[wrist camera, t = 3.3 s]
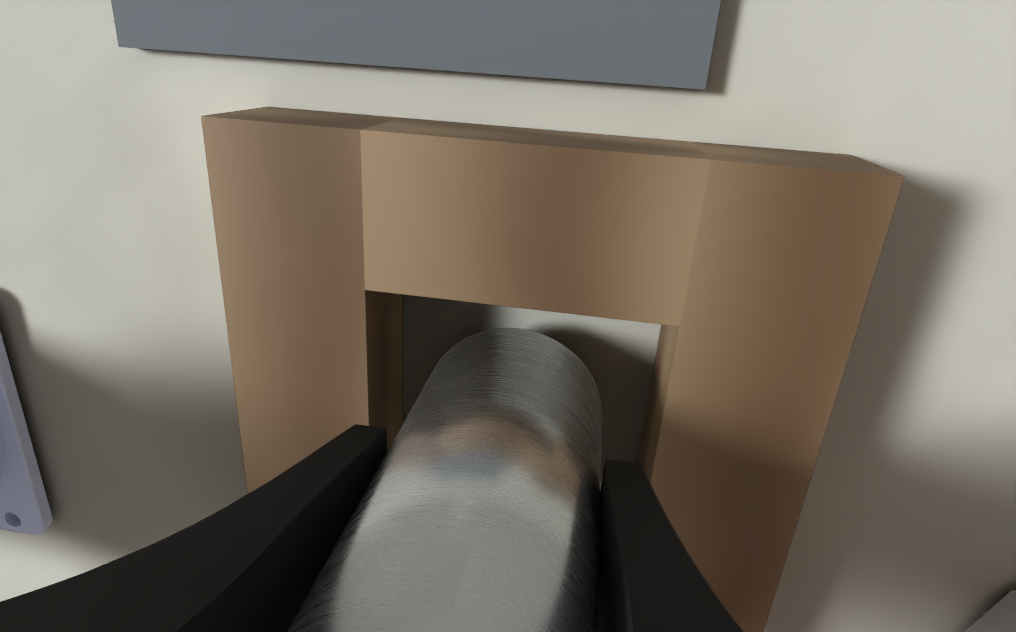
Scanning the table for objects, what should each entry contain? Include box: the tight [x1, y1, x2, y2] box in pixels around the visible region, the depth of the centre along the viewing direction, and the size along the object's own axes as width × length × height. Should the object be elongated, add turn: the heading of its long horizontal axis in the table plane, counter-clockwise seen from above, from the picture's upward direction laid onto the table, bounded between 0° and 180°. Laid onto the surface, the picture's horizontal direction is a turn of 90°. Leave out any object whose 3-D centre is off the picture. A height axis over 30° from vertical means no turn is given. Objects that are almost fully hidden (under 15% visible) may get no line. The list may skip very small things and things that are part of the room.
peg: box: [287, 328, 602, 632], centre depth 10 cm, size 4×4×8 cm
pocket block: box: [201, 107, 904, 632], centre depth 14 cm, size 12×12×2 cm
